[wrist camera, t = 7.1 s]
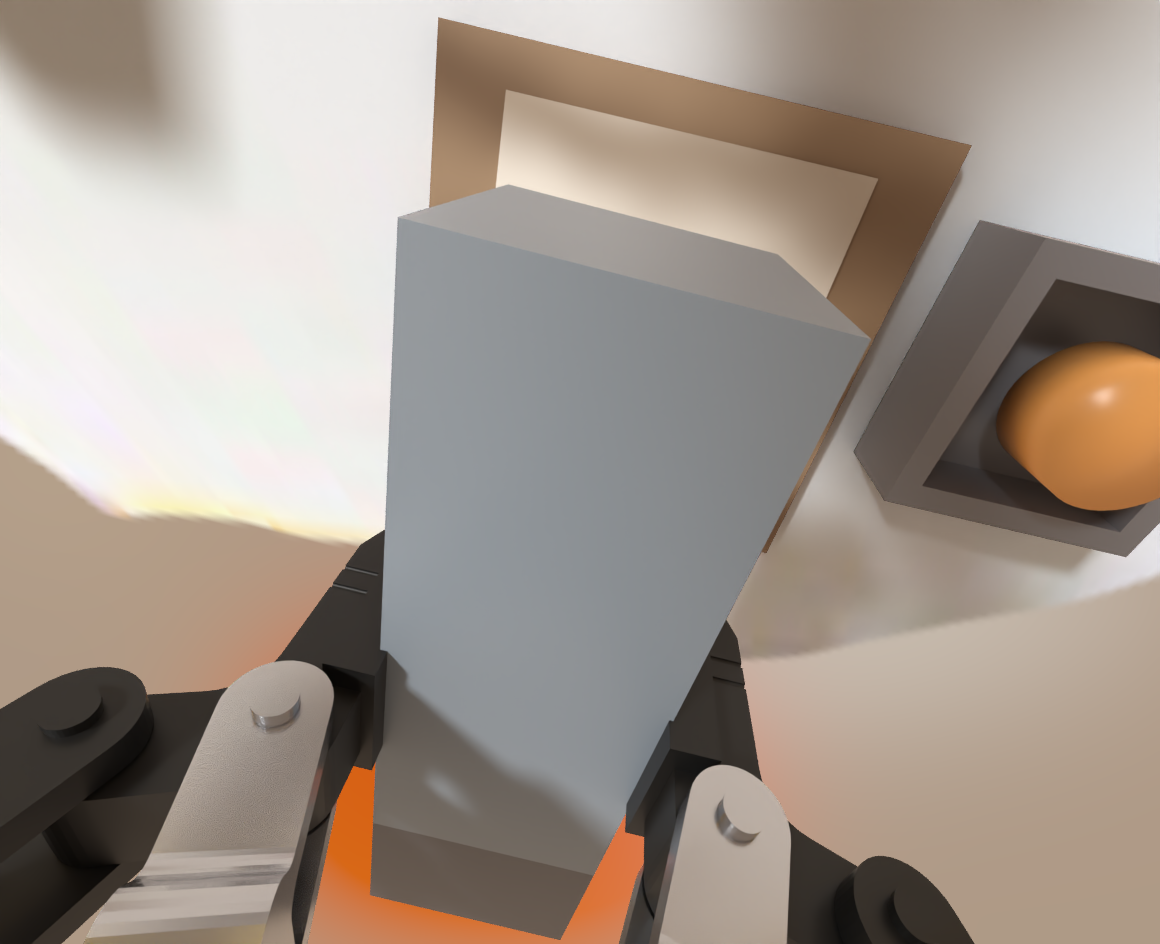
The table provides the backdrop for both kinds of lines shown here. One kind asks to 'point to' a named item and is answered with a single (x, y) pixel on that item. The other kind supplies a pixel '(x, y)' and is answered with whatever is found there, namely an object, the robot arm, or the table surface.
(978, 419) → the button housing
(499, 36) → the picture frame
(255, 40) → the table surface
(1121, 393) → the button cap
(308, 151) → the table surface
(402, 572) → the grey rectangular block
